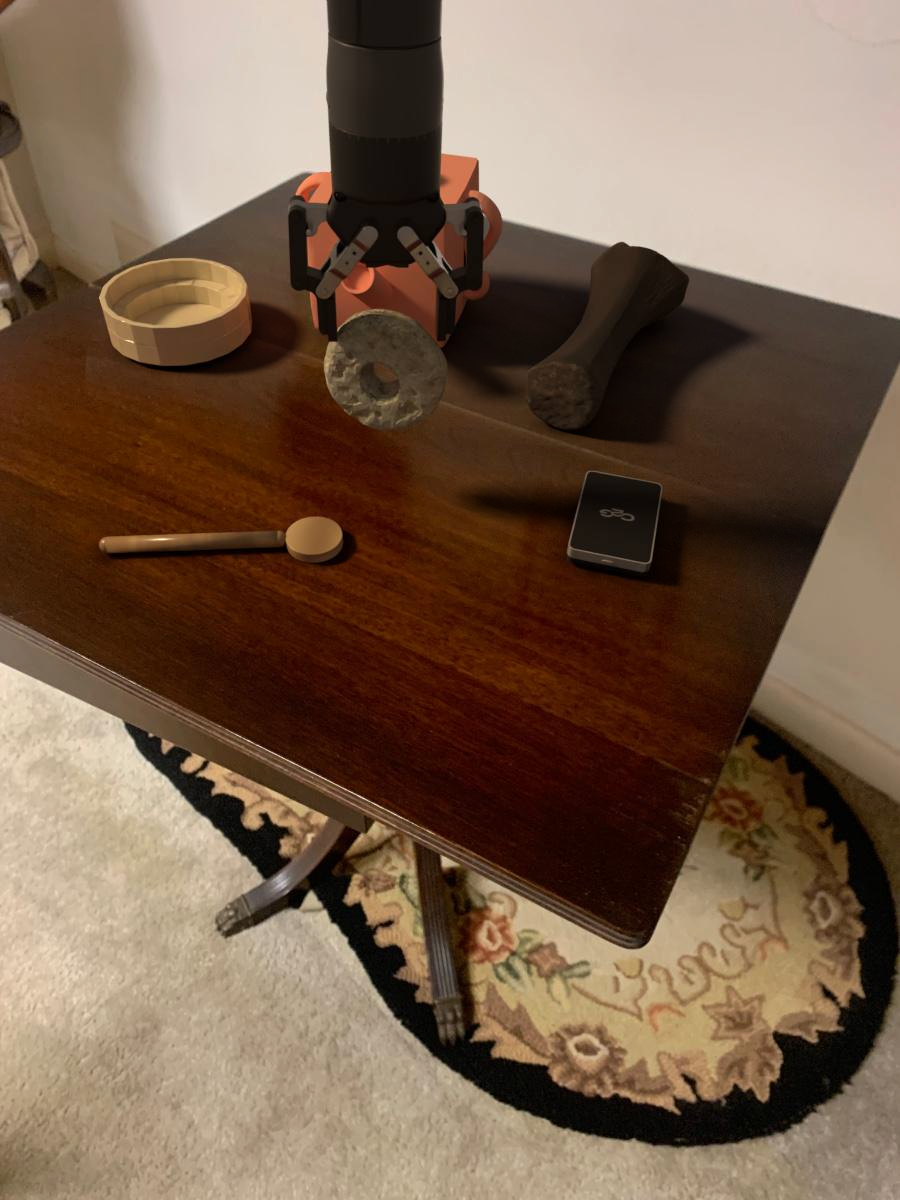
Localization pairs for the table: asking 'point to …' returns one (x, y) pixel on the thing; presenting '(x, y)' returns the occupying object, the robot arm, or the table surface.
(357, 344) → the stone ring
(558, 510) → the table surface
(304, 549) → the spoon
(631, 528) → the external hard drive
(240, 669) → the table surface
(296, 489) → the table surface
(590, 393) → the dark brown bone
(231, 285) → the bowl
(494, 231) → the teapot
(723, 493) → the table surface
